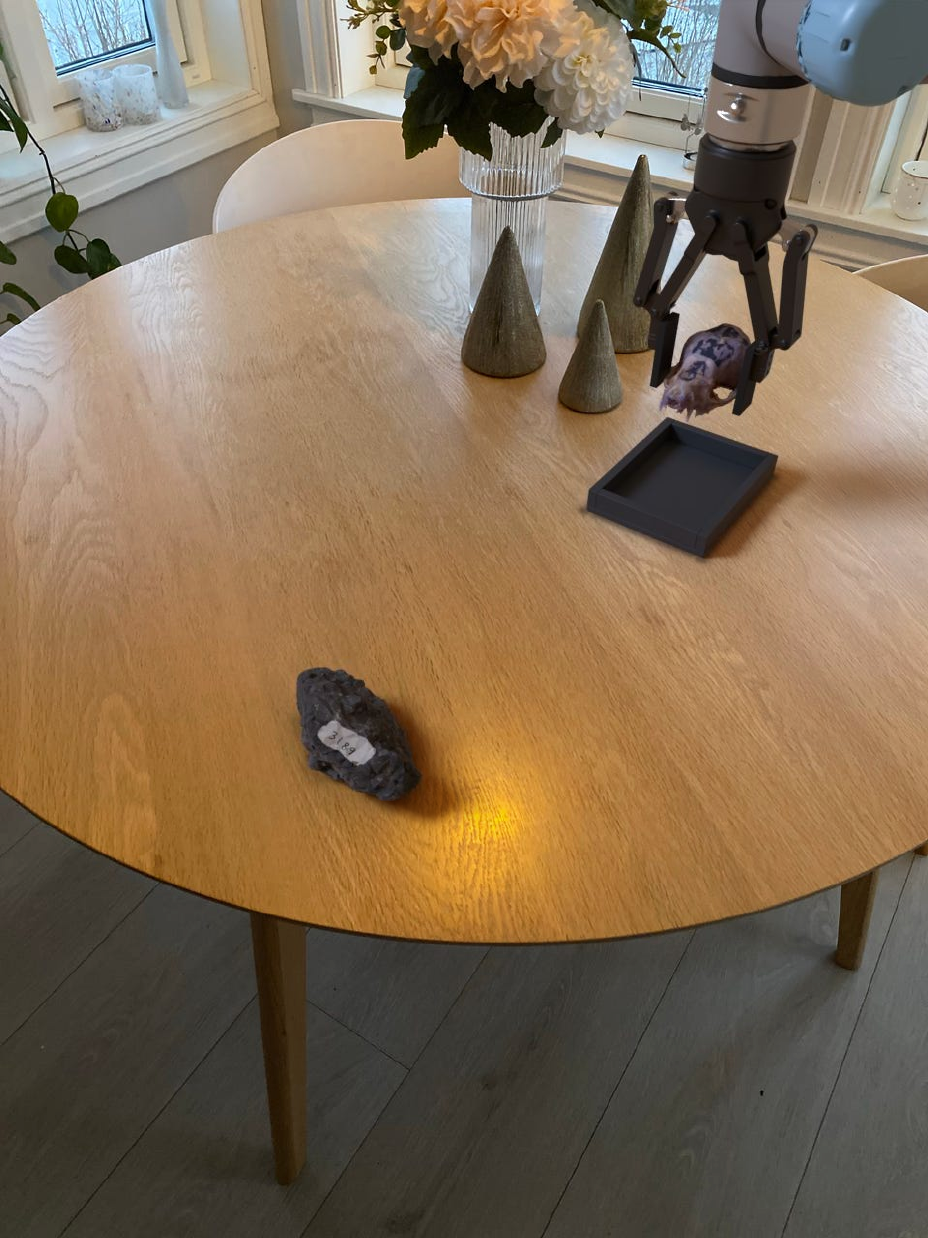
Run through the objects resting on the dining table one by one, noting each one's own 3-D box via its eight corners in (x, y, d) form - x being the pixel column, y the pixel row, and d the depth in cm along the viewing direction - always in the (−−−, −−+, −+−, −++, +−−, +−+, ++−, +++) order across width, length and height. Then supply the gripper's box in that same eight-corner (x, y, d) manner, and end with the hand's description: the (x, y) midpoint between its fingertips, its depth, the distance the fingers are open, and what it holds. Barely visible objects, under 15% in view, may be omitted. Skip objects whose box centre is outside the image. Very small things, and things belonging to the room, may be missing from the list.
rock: (245, 676, 73) (349, 634, 68) (314, 679, 80) (412, 641, 76) (278, 832, 70) (388, 799, 66) (346, 820, 77) (449, 789, 73)
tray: (773, 475, 102) (779, 455, 100) (702, 558, 92) (707, 537, 90) (663, 436, 108) (667, 416, 106) (586, 510, 97) (588, 489, 96)
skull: (694, 432, 85) (700, 366, 82) (626, 410, 90) (628, 347, 86) (768, 390, 92) (776, 327, 88) (700, 372, 96) (705, 311, 93)
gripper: (610, 124, 77) (585, 378, 93) (862, 177, 68) (788, 448, 84) (653, 102, 82) (623, 348, 97) (896, 149, 73) (819, 411, 89)
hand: (699, 394), depth 91 cm, fingers closed on skull, 8 cm apart
